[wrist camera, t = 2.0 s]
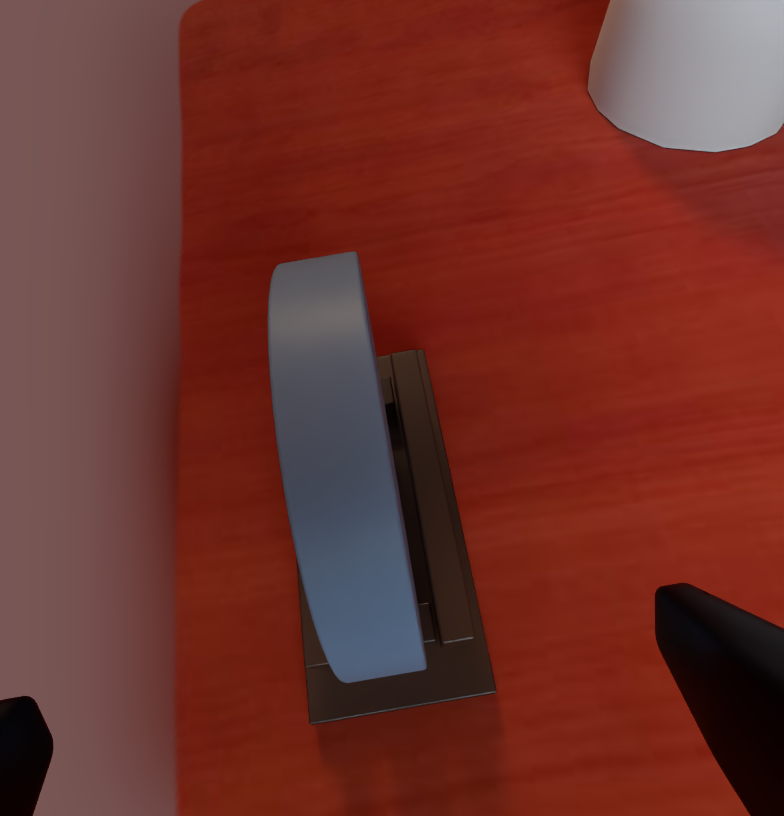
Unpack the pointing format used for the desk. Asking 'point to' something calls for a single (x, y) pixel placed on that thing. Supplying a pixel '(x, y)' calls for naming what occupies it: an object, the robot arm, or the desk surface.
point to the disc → (341, 470)
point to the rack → (414, 569)
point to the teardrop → (691, 71)
